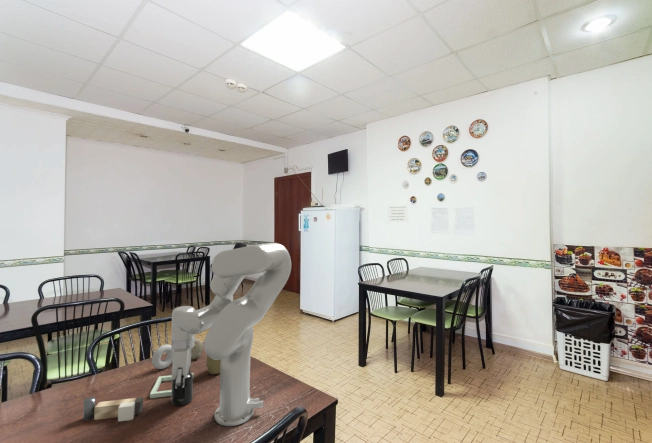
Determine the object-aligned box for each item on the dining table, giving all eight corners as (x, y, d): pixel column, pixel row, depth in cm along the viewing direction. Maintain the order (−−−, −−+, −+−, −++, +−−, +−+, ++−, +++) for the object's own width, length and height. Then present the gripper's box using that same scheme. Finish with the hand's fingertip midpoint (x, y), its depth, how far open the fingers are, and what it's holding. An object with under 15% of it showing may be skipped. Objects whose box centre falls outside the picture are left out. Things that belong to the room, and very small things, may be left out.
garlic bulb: (202, 361, 145) (210, 342, 145) (187, 366, 138) (195, 345, 138) (189, 351, 150) (197, 332, 150) (174, 355, 142) (182, 334, 142)
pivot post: (96, 414, 101) (97, 396, 101) (92, 420, 99) (92, 401, 99) (86, 415, 101) (86, 397, 101) (81, 421, 98) (81, 402, 98)
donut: (172, 362, 139) (172, 340, 139) (176, 364, 137) (177, 342, 137) (149, 371, 130) (150, 348, 130) (154, 374, 128) (154, 350, 128)
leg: (94, 419, 99) (94, 407, 99) (98, 414, 102) (98, 402, 102) (139, 414, 102) (140, 402, 102) (142, 408, 105) (143, 397, 105)
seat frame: (193, 376, 127) (193, 372, 127) (188, 393, 114) (188, 389, 114) (158, 380, 123) (158, 376, 123) (149, 398, 111) (149, 394, 111)
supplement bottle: (173, 397, 112) (173, 364, 112) (193, 394, 114) (194, 361, 114) (169, 408, 105) (170, 373, 105) (191, 405, 107) (192, 370, 107)
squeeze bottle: (219, 377, 127) (220, 333, 127) (202, 374, 128) (202, 331, 128) (229, 368, 135) (230, 326, 135) (212, 365, 136) (213, 325, 136)
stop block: (134, 415, 101) (135, 401, 101) (132, 419, 99) (132, 406, 99) (120, 416, 100) (121, 403, 100) (118, 421, 98) (118, 407, 98)
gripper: (176, 334, 117) (175, 381, 117) (165, 353, 100) (164, 408, 100) (197, 332, 119) (196, 379, 119) (190, 351, 102) (189, 405, 102)
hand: (182, 392), depth 110 cm, fingers closed on supplement bottle, 6 cm apart
